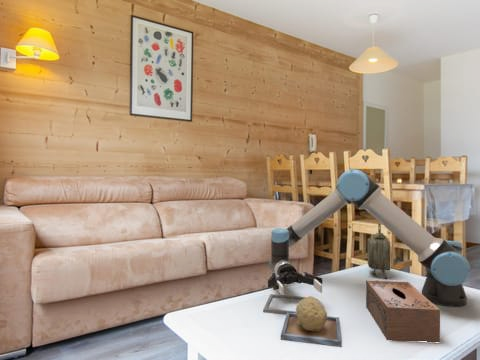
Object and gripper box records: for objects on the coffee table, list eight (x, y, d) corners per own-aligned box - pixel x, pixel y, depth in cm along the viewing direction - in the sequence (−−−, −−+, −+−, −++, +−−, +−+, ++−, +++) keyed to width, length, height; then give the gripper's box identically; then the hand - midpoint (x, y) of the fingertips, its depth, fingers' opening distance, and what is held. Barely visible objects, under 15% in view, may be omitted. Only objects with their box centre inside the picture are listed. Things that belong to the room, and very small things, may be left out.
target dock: (339, 321, 114) (339, 317, 114) (341, 346, 97) (341, 341, 97) (287, 316, 118) (287, 312, 118) (280, 339, 102) (280, 334, 101)
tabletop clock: (390, 280, 159) (391, 225, 158) (369, 278, 161) (369, 225, 161) (386, 272, 172) (387, 221, 172) (367, 270, 175) (367, 221, 175)
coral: (327, 300, 113) (328, 297, 104) (324, 333, 109) (325, 334, 100) (298, 295, 115) (296, 292, 106) (294, 328, 112) (292, 327, 103)
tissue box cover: (366, 307, 127) (366, 280, 127) (407, 309, 125) (407, 282, 125) (387, 341, 101) (387, 307, 101) (439, 344, 100) (440, 309, 99)
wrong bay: (309, 300, 133) (309, 297, 133) (306, 316, 118) (306, 313, 118) (270, 296, 137) (270, 294, 137) (263, 312, 122) (263, 309, 122)
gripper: (315, 280, 140) (337, 299, 119) (255, 282, 137) (265, 302, 116) (315, 261, 140) (337, 277, 119) (255, 263, 137) (265, 280, 116)
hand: (301, 289), depth 118 cm, fingers open, 13 cm apart
